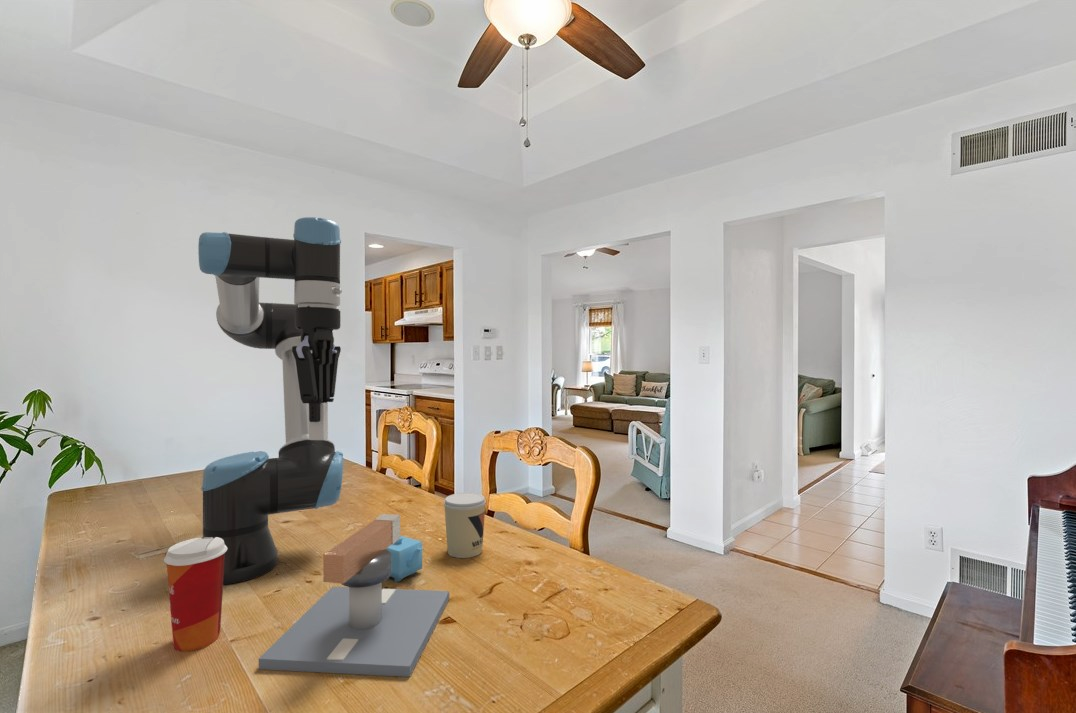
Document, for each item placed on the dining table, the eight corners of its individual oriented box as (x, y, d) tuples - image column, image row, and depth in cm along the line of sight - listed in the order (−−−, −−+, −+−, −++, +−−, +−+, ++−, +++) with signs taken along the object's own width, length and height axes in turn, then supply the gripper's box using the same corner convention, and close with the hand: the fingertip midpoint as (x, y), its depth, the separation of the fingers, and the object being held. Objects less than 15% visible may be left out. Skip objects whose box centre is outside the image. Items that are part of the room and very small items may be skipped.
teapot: (434, 576, 102) (434, 539, 102) (412, 589, 97) (411, 549, 97) (392, 563, 108) (392, 528, 108) (369, 574, 103) (369, 537, 103)
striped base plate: (258, 669, 72) (258, 609, 72) (332, 594, 94) (332, 549, 94) (409, 677, 71) (409, 616, 70) (449, 599, 93) (449, 552, 92)
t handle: (359, 605, 73) (358, 556, 73) (308, 600, 74) (308, 552, 74) (412, 555, 91) (412, 515, 90) (370, 552, 92) (370, 513, 92)
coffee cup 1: (185, 627, 83) (184, 536, 83) (238, 624, 84) (237, 534, 84) (150, 658, 75) (149, 557, 75) (209, 655, 76) (208, 555, 75)
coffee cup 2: (478, 561, 109) (478, 505, 109) (437, 557, 111) (437, 502, 111) (490, 544, 118) (490, 493, 118) (452, 541, 120) (452, 491, 120)
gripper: (319, 303, 84) (320, 446, 84) (354, 310, 97) (354, 433, 97) (276, 304, 84) (276, 446, 85) (316, 310, 97) (316, 433, 98)
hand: (318, 439), depth 91 cm, fingers closed
